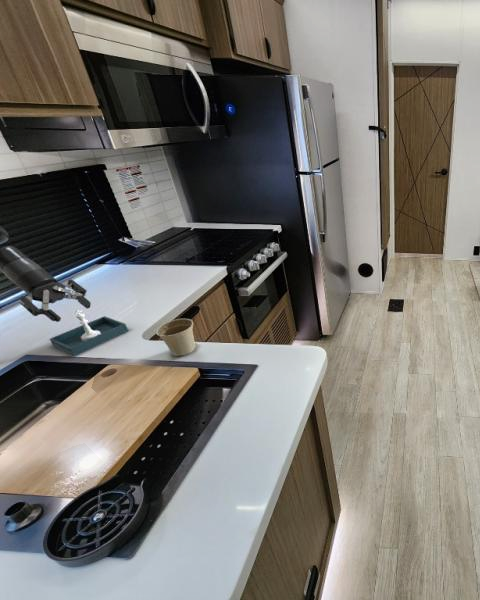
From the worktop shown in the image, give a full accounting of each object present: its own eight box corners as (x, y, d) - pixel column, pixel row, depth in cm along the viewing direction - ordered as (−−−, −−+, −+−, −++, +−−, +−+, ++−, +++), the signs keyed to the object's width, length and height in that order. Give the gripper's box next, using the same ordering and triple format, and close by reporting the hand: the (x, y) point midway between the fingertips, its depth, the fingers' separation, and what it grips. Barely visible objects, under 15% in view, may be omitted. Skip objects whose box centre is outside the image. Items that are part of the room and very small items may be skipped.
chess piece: (77, 339, 106) (62, 312, 101) (93, 331, 110) (79, 305, 105) (89, 341, 105) (74, 314, 100) (104, 333, 109) (91, 306, 104)
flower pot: (186, 361, 96) (176, 337, 92) (158, 358, 98) (147, 334, 94) (208, 343, 105) (200, 319, 101) (182, 340, 106) (173, 317, 102)
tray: (74, 356, 99) (69, 348, 98) (53, 346, 104) (49, 338, 103) (128, 330, 111) (125, 323, 110) (107, 322, 116) (104, 316, 115)
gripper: (0, 278, 93) (50, 318, 96) (58, 260, 105) (100, 296, 108) (-2, 293, 97) (46, 331, 100) (54, 274, 109) (95, 308, 112)
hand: (74, 313), depth 104 cm, fingers open, 8 cm apart
